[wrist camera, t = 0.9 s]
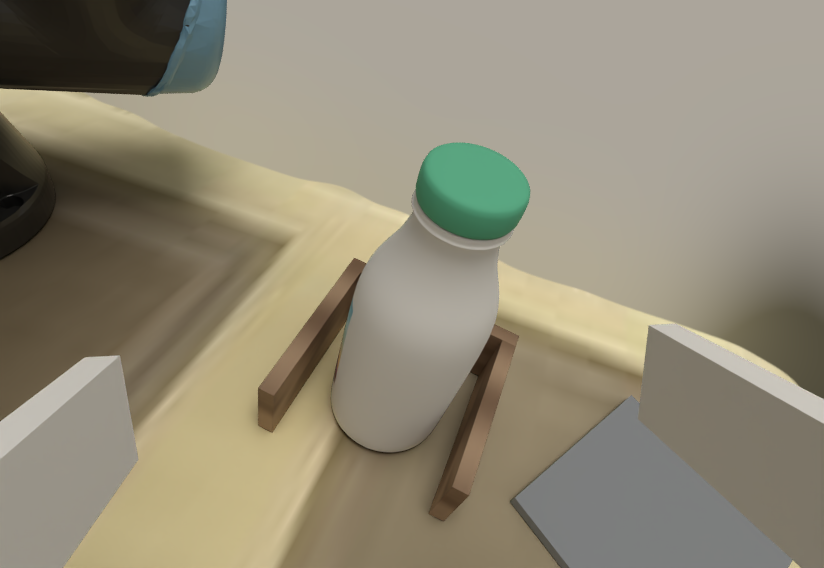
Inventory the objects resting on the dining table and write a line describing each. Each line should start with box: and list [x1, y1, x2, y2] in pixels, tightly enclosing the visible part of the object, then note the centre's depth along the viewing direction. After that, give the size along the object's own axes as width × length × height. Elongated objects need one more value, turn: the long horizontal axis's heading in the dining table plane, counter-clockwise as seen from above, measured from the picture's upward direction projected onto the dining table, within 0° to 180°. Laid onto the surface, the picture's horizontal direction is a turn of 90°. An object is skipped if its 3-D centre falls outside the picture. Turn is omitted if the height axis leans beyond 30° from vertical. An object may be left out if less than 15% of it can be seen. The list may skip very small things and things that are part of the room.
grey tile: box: [510, 395, 792, 568], centre depth 32 cm, size 14×14×1 cm
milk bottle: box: [331, 143, 530, 452], centre depth 27 cm, size 8×8×20 cm
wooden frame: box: [258, 258, 519, 521], centre depth 33 cm, size 12×13×5 cm
